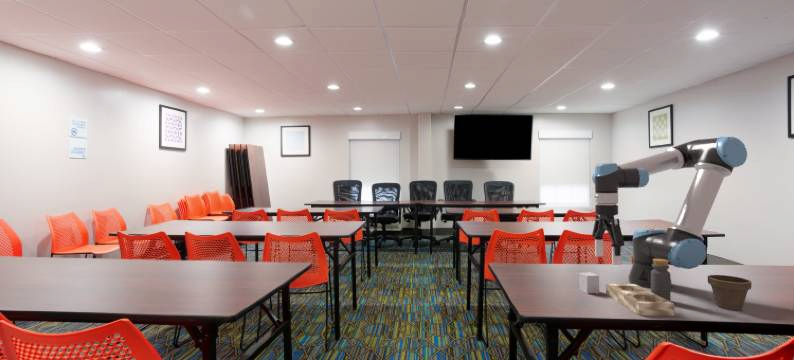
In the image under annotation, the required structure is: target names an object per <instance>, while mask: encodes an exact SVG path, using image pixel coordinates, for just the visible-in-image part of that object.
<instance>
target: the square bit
mask: <svg viewBox="0 0 794 360" xmlns="http://www.w3.org/2000/svg"><path fill="white" fill-rule="evenodd" d="M581 290H582V291H581ZM579 291H581V292H583V291H584V292H583V293H585V292H586V293H596V294H600V275H599V274H596V273H593V272H591V271H589V272H588V271H587V272H579ZM586 293H585V294H586Z"/></svg>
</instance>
